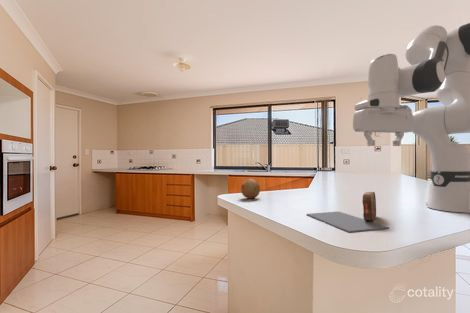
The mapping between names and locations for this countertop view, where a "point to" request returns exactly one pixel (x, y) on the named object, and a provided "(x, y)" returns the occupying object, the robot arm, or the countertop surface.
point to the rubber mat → (347, 222)
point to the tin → (369, 206)
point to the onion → (250, 188)
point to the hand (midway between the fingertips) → (384, 145)
